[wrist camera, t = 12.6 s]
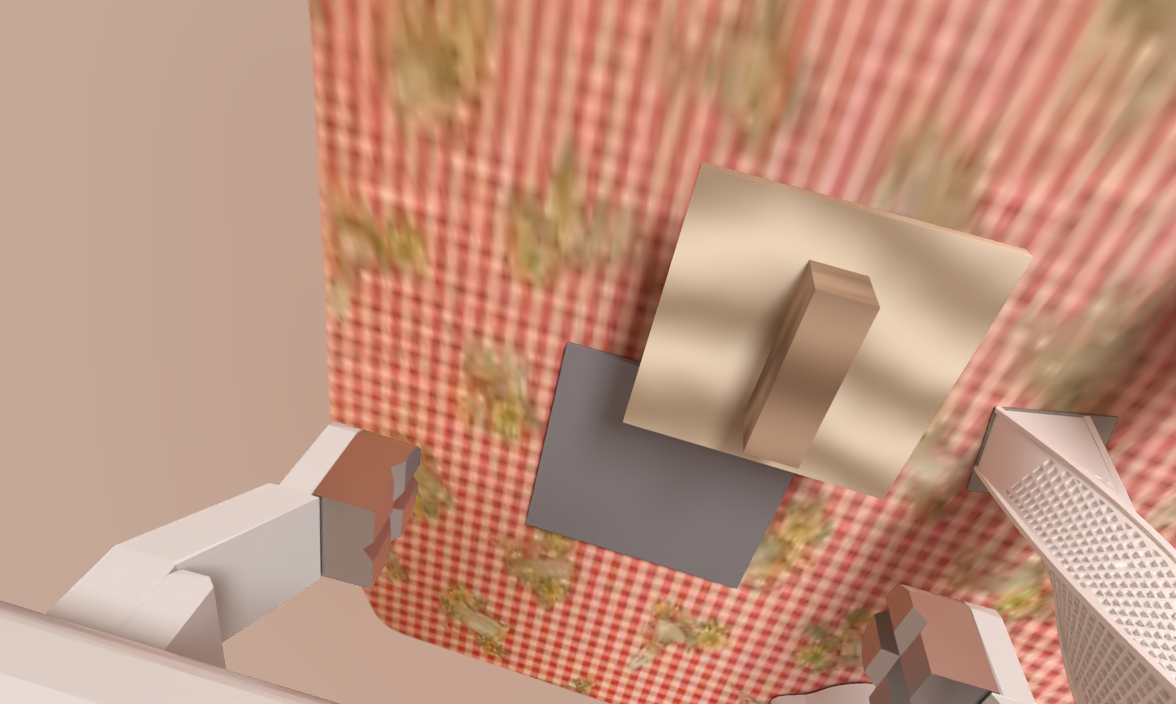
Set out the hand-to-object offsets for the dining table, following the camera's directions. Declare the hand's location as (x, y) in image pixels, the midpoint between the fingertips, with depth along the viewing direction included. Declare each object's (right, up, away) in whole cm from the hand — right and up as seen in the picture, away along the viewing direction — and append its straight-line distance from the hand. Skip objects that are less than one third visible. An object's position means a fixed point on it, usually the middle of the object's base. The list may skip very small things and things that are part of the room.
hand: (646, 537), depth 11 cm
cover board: (+11, +4, +26) cm, 28 cm away
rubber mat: (+4, -6, +40) cm, 41 cm away
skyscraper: (+28, -3, +34) cm, 44 cm away
